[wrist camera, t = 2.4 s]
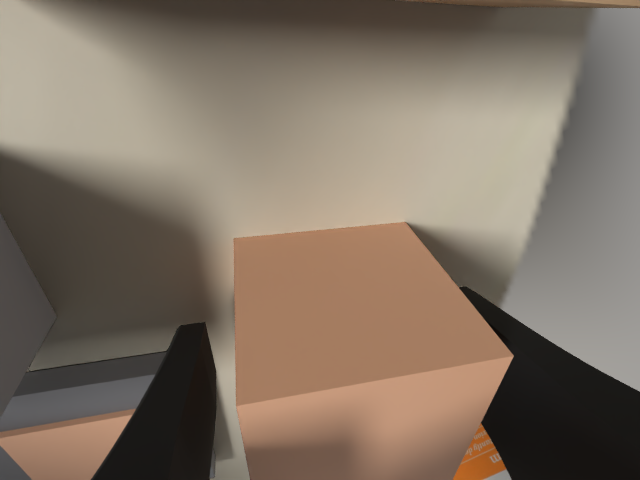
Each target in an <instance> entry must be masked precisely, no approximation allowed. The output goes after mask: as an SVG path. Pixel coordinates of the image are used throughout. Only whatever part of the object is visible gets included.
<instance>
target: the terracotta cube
mask: <svg viewBox="0 0 640 480" xmlns="http://www.w3.org/2000/svg"><path fill="white" fill-rule="evenodd" d="M234 293H235V359H236V408H237V413H238V418H239V423H240V428H241V434H242V439H243V444H244V449H245V454H246V460H247V465H248V470H249V475H250V480H453V478H454V476H455V474H456V472H457V470H458V468H459V466H460V464H461V462H462V460H463V458H464V456H465V454H466V452H467V450H468V448H469V446H470V444H471V442H472V440H473V438H474V436H475V434H476V432H477V430H478V428H479V426H480V423H481V421H482V419H483V417H484V415H485V413H486V411H487V409H488V407H489V405H490V403H491V401H492V399H493V397H494V395H495V393H496V391H497V389H498V387H499V385H500V383H501V381H502V379H503V377H504V375H505V373H506V371H507V369H508V367H509V365H510V363H511V361H512V359H513V357H514V355H513V354H512V353H511V352H510V350H509V349H508V348H507V347H506V346H505V344H504V343H503V342H502V341H501V339H500V338H499V337H498V336H497V334H496V333H495V332H494V331H493V330H492V328H491V327H490V326H489V325H488V323H487V322H486V321H485V320H484V318H483V317H482V316H481V315H480V313H479V312H478V311H477V310H476V309H475V307H474V306H473V305H472V304H471V302H470V301H469V300H468V299H467V297H466V296H465V295H464V294H463V292H462V291H461V290H460V289H459V288H458V286H457V285H456V284H455V283H454V281H453V280H452V279H451V278H450V276H449V275H448V274H447V273H446V271H445V270H444V269H443V268H442V267H441V265H440V264H439V263H438V262H437V260H436V259H435V258H434V257H433V255H432V254H431V253H430V252H429V250H428V249H427V248H426V247H425V246H424V244H423V243H422V242H421V241H420V239H419V238H418V237H417V236H416V234H415V233H414V232H413V231H412V229H411V228H410V227H409V226H408V225H407V223H406V222H401V223H390V224H380V225H369V226H359V227H348V228H338V229H327V230H316V231H306V232H295V233H285V234H274V235H264V236H253V237H243V238H234Z"/></svg>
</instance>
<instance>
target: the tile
mask: <svg viewBox="0 0 640 480" xmlns="http://www.w3.org/2000/svg"><path fill="white" fill-rule="evenodd" d="M165 355H166V352H162V353H155V354H149V355H142V356H135V357H128V358H122V359H115V360H108V361H101V362H95V363H88V364H81V365H74V366H68V367H61V368H54V369H47V370H41V371H34V372H27V373H25V375H24V377H23V378H22V380H21V382H20V384H19V386H18V387H17V389H16V391H15V393H14V395H13V396H12V398H11V400H10V402H9V404H8V405H7V407H6V409H5V411H4V413H3V414H2V416H1V418H0V480H91V479H92V477H93V476H94V474H95V473H96V471H97V470H98V468H99V467H100V465H101V464H102V462H103V461H104V459H105V458H106V456H107V455H108V453H109V452H110V450H111V449H112V447H113V446H114V444H115V442H116V441H117V439H118V438H119V436H120V434H121V433H122V431H123V429H124V428H125V426H126V425H127V423H128V421H129V420H130V418H131V417H132V415H133V413H134V412H135V410H136V408H137V407H138V405H139V403H140V401H141V399H142V398H143V396H144V394H145V392H146V390H147V389H148V387H149V385H150V383H151V381H152V380H153V378H154V376H155V374H156V372H157V370H158V368H159V366H160V364H161V362H162V361H163V359H164V357H165ZM215 459H216V457H215V453H214V450H213V449H212V459H211V469H210V478H213V477H215Z"/></svg>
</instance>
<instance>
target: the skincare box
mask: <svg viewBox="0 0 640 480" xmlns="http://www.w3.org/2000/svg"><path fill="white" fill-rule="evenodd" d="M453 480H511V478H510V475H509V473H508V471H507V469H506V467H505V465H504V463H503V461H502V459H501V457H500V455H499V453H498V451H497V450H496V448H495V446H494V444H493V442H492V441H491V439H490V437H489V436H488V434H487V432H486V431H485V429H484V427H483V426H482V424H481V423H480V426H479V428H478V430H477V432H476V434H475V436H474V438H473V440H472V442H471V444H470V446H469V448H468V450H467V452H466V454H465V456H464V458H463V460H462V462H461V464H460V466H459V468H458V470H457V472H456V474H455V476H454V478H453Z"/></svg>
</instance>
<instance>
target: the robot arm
mask: <svg viewBox="0 0 640 480" xmlns="http://www.w3.org/2000/svg"><path fill="white" fill-rule="evenodd" d="M459 289H460V290H461V291H462V292H463V294H464V295H465V296H466V297H467V299H468V300H469V301H470V302H471V304H472V305H473V306H474V307H475V309H476V310H477V311H478V312H479V313H480V315H481V316H482V317H483V318H484V320H485V321H486V322H487V323H488V325H489V326H490V327H491V328H492V330H493V331H494V332H495V333H496V334H497V336H498V337H499V338H500V339H501V341H502V342H503V343H504V344H505V346H506V347H507V348H508V349H509V350H510V352H511V353H512V354H513V355H514V357H513V359H512V361H511V363H510V365H509V367H508V369H507V371H506V373H505V375H504V377H503V379H502V381H501V383H500V385H499V387H498V389H497V391H496V393H495V395H494V397H493V399H492V401H491V403H490V405H489V407H488V409H487V411H486V413H485V415H484V417H483V419H482V421H481V424H482V426H483V427H484V429H485V431H486V432H487V434H488V436H489V437H490V439H491V441H492V442H493V444H494V446H495V448H496V450H497V451H498V453H499V455H500V457H501V459H502V461H503V463H504V465H505V467H506V469H507V471H508V473H509V475H510V478H511V480H640V392H639V391H637V390H635V389H633V388H631V387H630V386H628V385H626V384H624V383H622V382H620V381H618V380H616V379H614V378H613V377H611V376H609V375H607V374H605V373H603V372H601V371H599V370H598V369H596V368H594V367H592V366H590V365H588V364H587V363H585V362H583V361H582V360H580V359H578V358H577V357H575V356H573V355H572V354H570V353H568V352H567V351H565V350H563V349H562V348H560V347H558V346H556V345H555V344H554V343H552V342H550V341H549V340H547V339H545V338H544V337H542V336H541V335H539V334H538V333H536V332H535V331H533V330H531V329H530V328H528V327H527V326H525V325H524V324H522V323H521V322H519V321H518V320H516V319H515V318H513V317H512V316H510V315H509V314H507V313H506V312H504V311H503V310H501V309H500V308H498V307H497V306H495V305H494V304H492V303H491V302H489V301H488V300H486V299H485V298H483V297H482V296H480V295H479V294H477V293H476V292H474V291H472V290H471V289H469V288H467V287H459ZM215 419H216V368H215V364H214V360H213V355H212V351H211V346H210V342H209V337H208V333H207V329H206V324H205V322H201V323H194V324H187V325H181V326H180V327H179V328H178V329H177V331H176V333H175V335H174V337H173V340H172V342H171V344H170V346H169V348H168V350H167V352H166V355H165V357H164V359H163V361H162V362H161V364H160V366H159V368H158V370H157V372H156V374H155V376H154V378H153V380H152V381H151V383H150V385H149V387H148V389H147V390H146V392H145V394H144V396H143V398H142V399H141V401H140V403H139V405H138V407H137V408H136V410H135V412H134V413H133V415H132V417H131V418H130V420H129V421H128V423H127V425H126V426H125V428H124V429H123V431H122V433H121V434H120V436H119V438H118V439H117V441H116V442H115V444H114V446H113V447H112V449H111V450H110V452H109V453H108V455H107V456H106V458H105V459H104V461H103V462H102V464H101V465H100V467H99V468H98V470H97V471H96V473H95V474H94V476H93V477H92V479H91V480H209V479H210V469H211V459H212V449H213V439H214V429H215Z"/></svg>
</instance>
